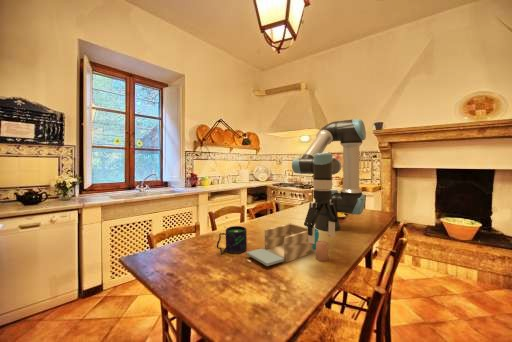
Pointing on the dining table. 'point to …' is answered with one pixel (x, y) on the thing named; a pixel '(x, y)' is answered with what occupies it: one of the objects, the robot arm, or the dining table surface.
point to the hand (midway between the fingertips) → (321, 239)
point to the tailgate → (265, 256)
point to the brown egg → (322, 251)
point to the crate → (288, 241)
